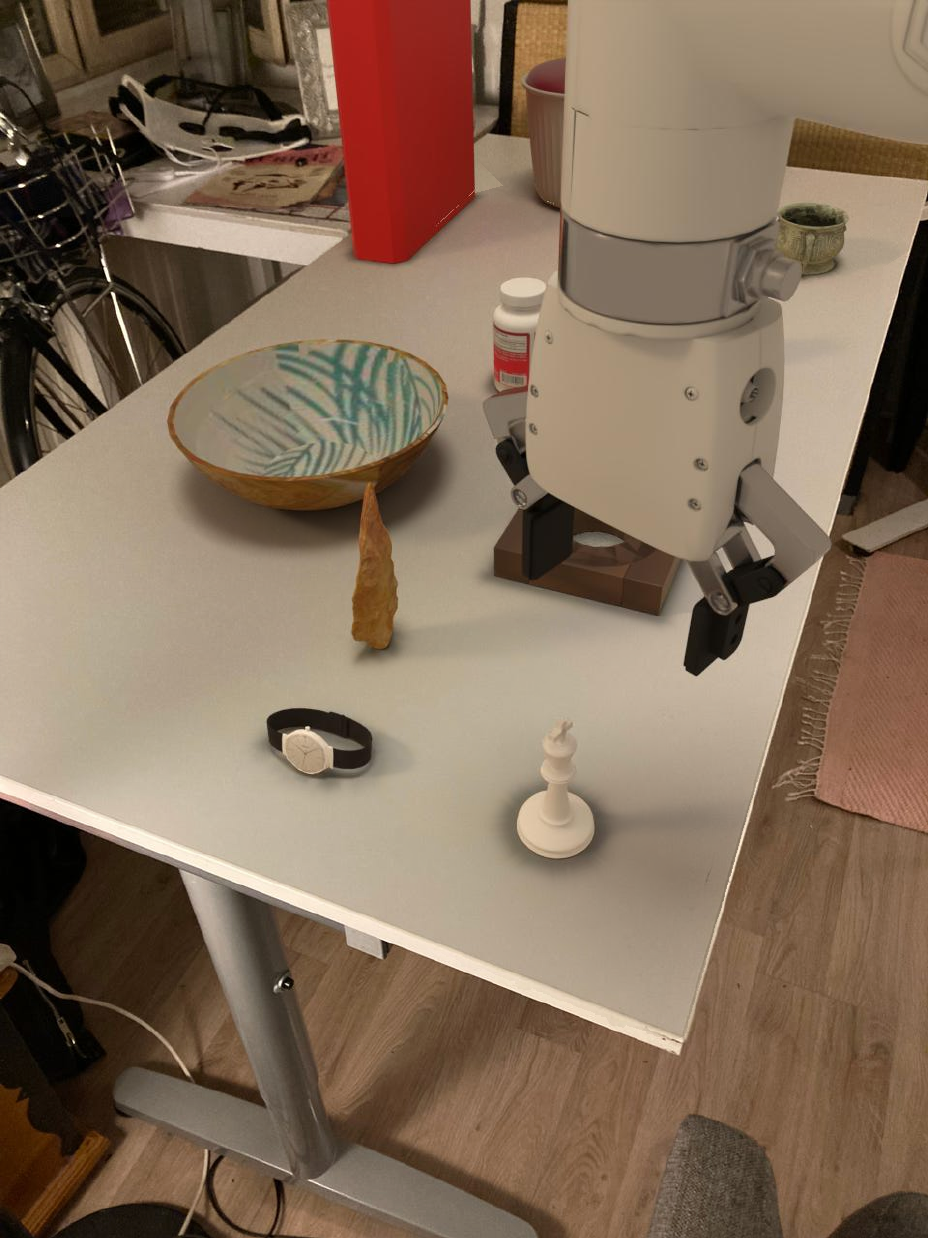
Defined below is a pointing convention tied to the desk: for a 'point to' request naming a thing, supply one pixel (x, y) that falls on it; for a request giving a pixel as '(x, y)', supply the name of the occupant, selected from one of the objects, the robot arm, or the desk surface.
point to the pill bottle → (516, 331)
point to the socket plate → (596, 567)
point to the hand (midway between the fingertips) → (623, 609)
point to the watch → (317, 739)
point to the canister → (546, 126)
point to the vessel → (811, 235)
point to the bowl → (309, 421)
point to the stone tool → (374, 579)
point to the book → (403, 119)
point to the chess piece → (556, 803)
